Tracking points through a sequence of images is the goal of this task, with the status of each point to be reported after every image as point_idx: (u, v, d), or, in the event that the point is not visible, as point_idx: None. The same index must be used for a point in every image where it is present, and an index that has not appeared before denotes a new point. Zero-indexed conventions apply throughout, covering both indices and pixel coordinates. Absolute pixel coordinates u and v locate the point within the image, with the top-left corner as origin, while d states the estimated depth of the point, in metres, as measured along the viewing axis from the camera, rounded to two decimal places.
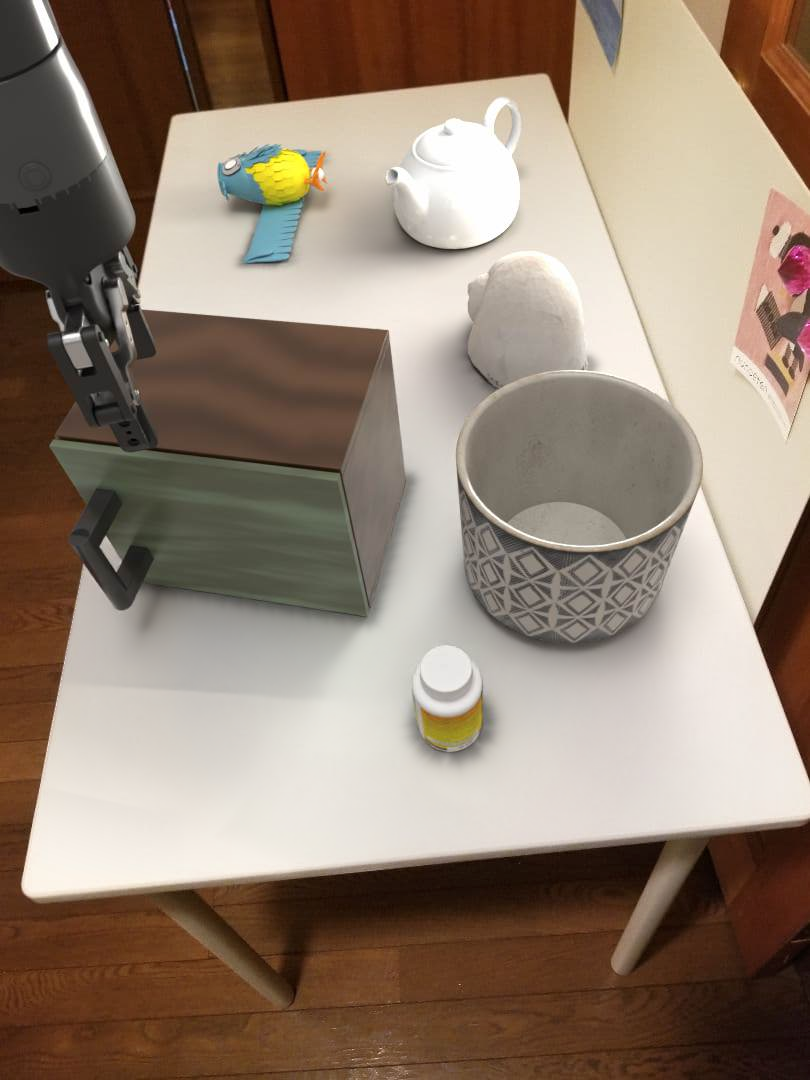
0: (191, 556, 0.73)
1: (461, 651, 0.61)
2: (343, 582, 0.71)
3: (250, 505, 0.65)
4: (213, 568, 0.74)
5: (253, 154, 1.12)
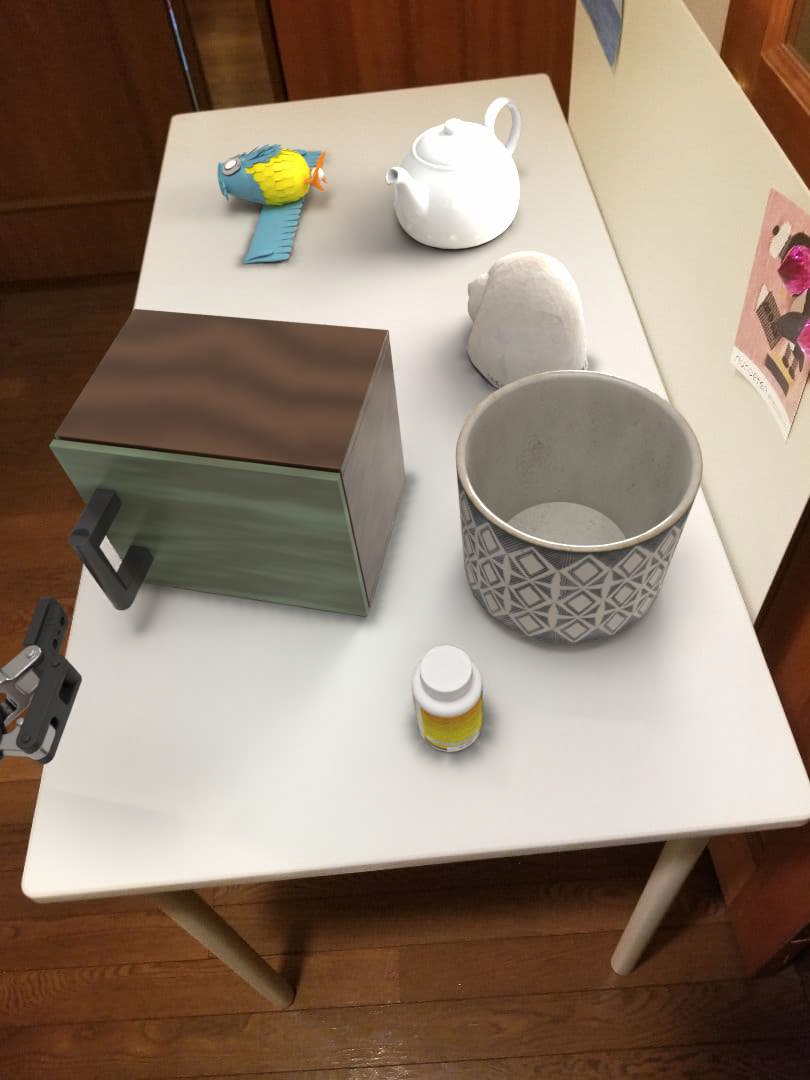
0: (191, 556, 0.73)
1: (461, 651, 0.61)
2: (343, 582, 0.71)
3: (250, 505, 0.65)
4: (213, 568, 0.74)
5: (253, 154, 1.12)
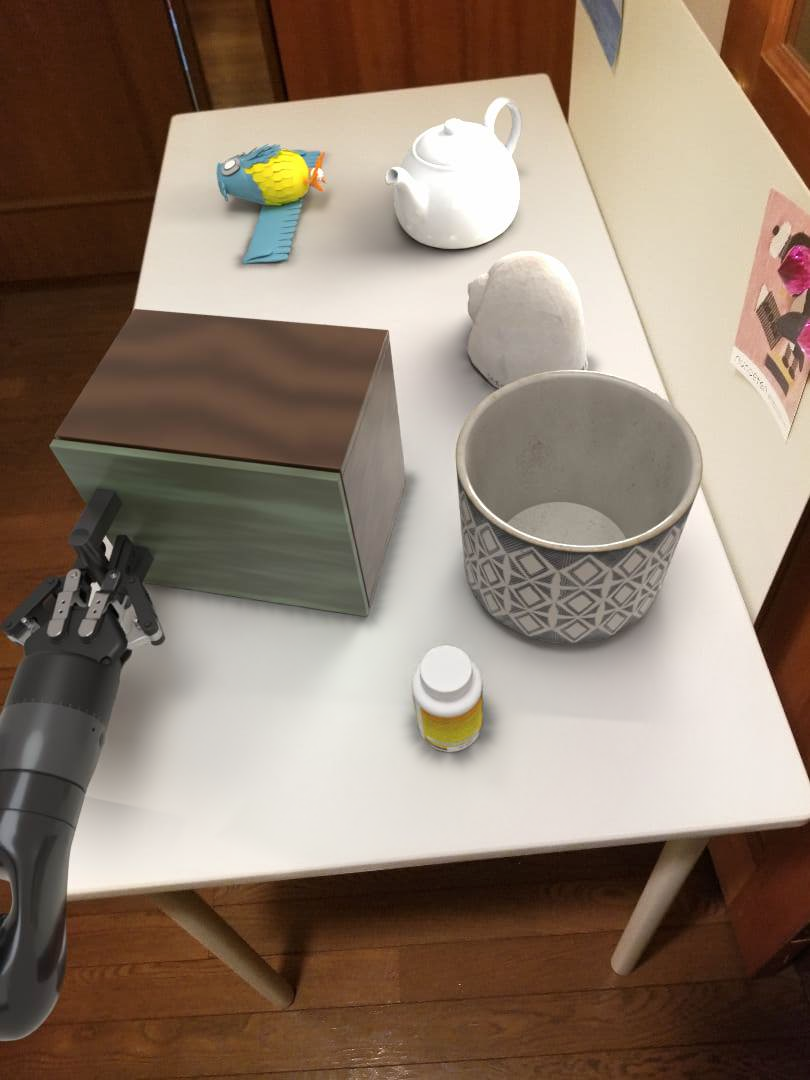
0: (191, 556, 0.73)
1: (461, 651, 0.61)
2: (343, 582, 0.71)
3: (250, 504, 0.65)
4: (213, 568, 0.74)
5: (252, 154, 1.12)
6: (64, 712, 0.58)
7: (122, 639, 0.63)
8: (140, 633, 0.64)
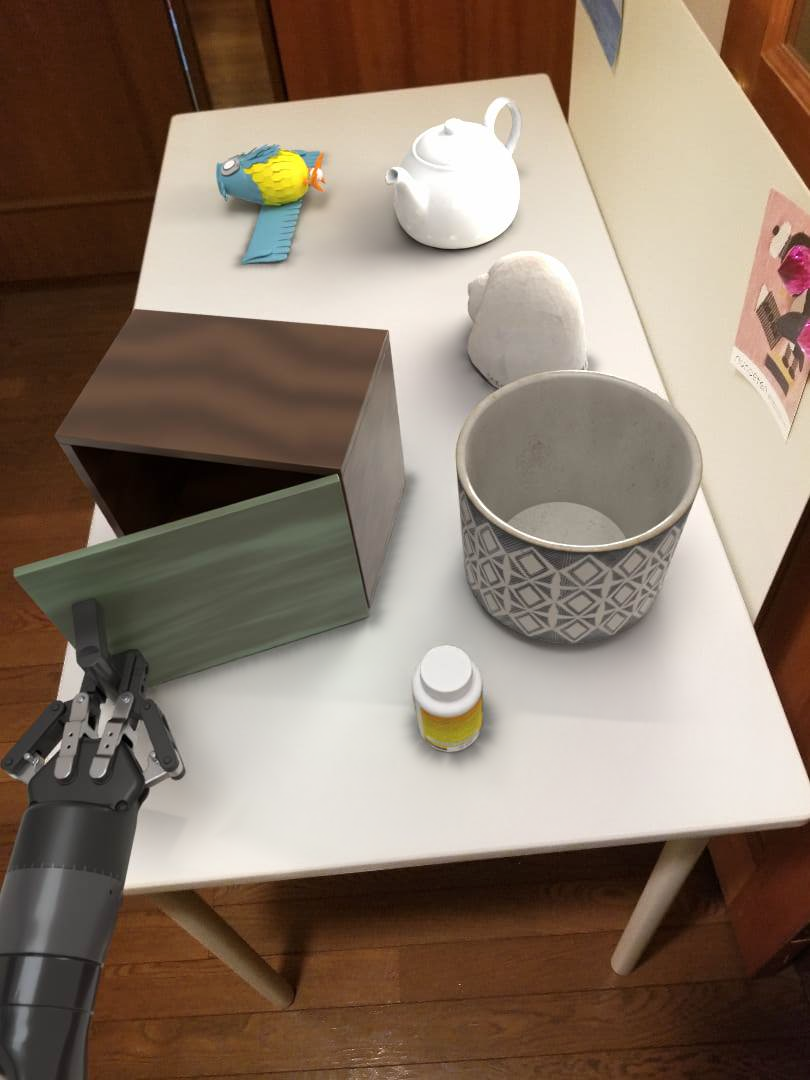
0: (183, 636, 0.69)
1: (461, 651, 0.61)
2: (345, 589, 0.71)
3: (250, 546, 0.62)
4: (207, 638, 0.70)
5: (252, 154, 1.12)
6: (78, 877, 0.51)
7: (139, 778, 0.57)
8: (159, 769, 0.57)
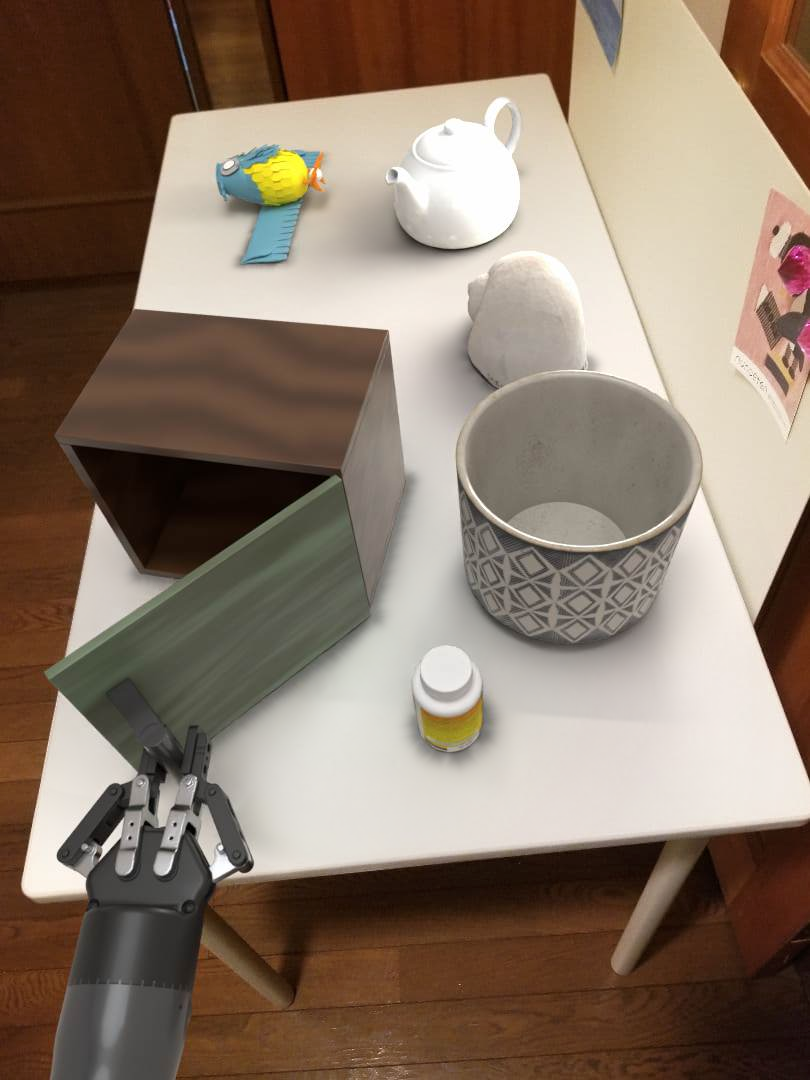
0: (211, 692, 0.65)
1: (461, 651, 0.61)
2: (350, 594, 0.71)
3: (267, 573, 0.61)
4: (233, 688, 0.67)
5: (251, 154, 1.12)
6: (147, 995, 0.47)
7: (206, 874, 0.52)
8: (226, 863, 0.53)
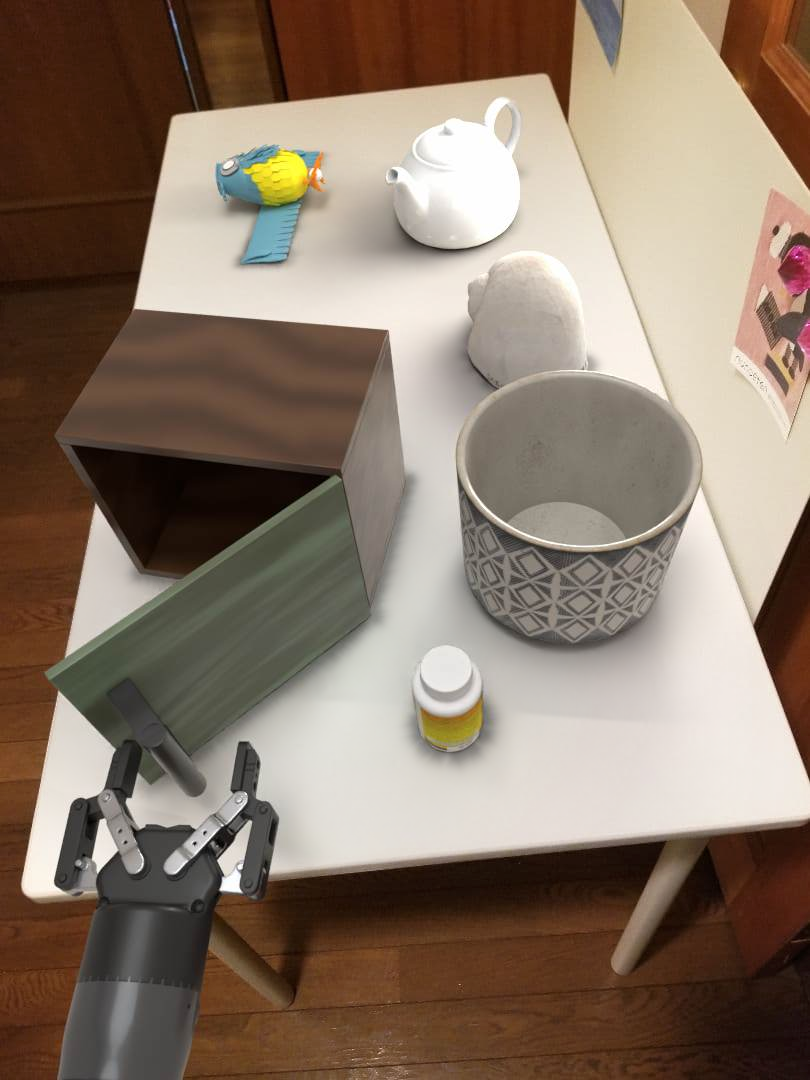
0: (211, 692, 0.65)
1: (461, 651, 0.61)
2: (350, 594, 0.71)
3: (267, 573, 0.61)
4: (233, 688, 0.67)
5: (251, 154, 1.12)
6: (156, 993, 0.47)
7: (216, 874, 0.53)
8: (238, 884, 0.53)
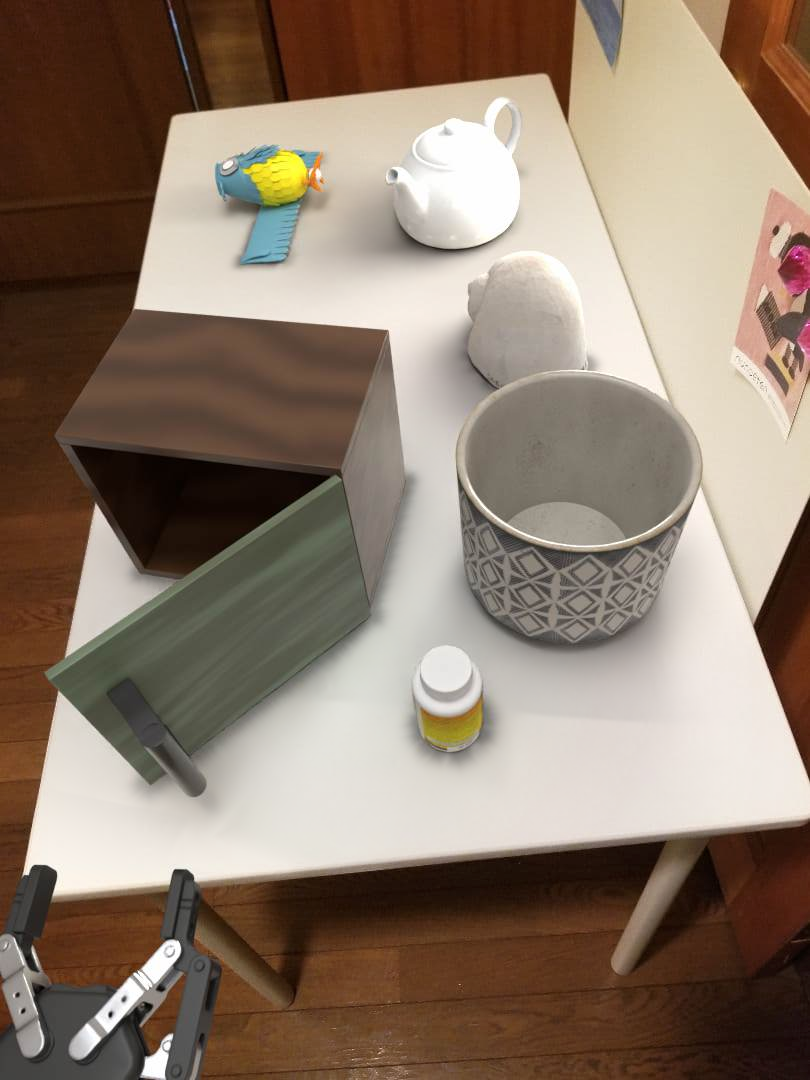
0: (211, 692, 0.65)
1: (461, 651, 0.61)
2: (350, 594, 0.71)
3: (267, 573, 0.61)
4: (233, 688, 0.67)
5: (250, 155, 1.12)
6: None
7: (136, 1056, 0.41)
8: (164, 1068, 0.41)
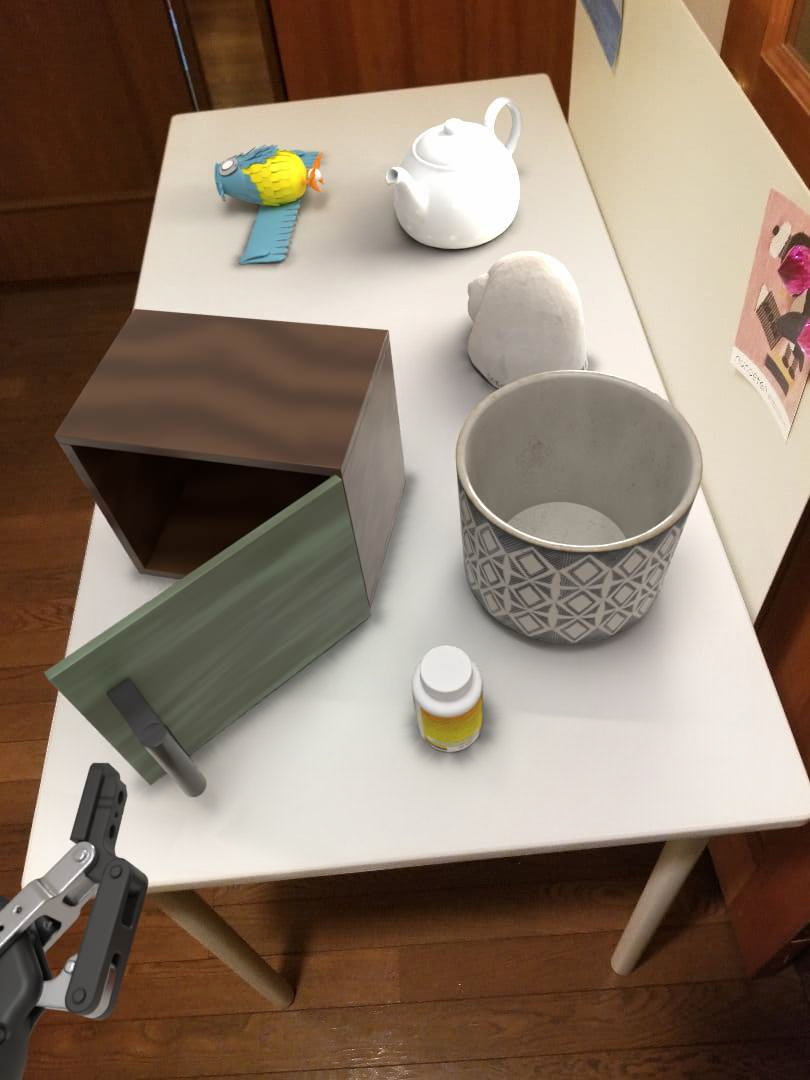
0: (211, 692, 0.65)
1: (461, 651, 0.61)
2: (350, 594, 0.71)
3: (267, 573, 0.61)
4: (233, 688, 0.67)
5: (250, 155, 1.12)
6: None
7: (32, 979, 0.33)
8: None
